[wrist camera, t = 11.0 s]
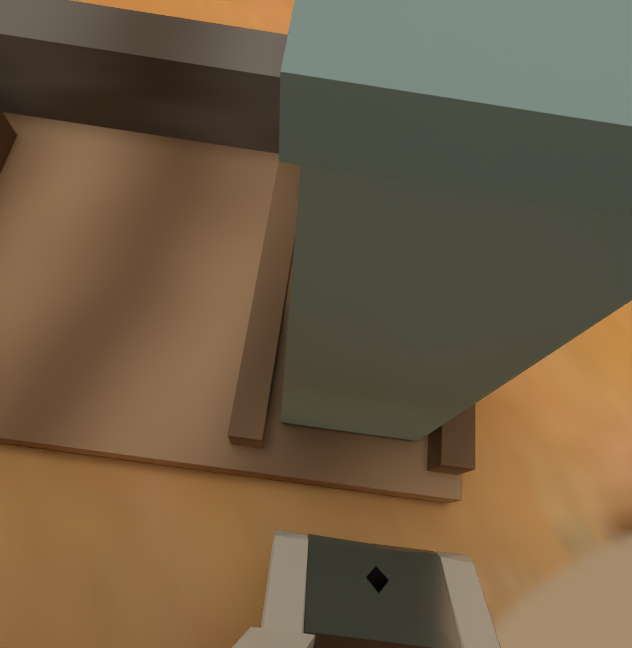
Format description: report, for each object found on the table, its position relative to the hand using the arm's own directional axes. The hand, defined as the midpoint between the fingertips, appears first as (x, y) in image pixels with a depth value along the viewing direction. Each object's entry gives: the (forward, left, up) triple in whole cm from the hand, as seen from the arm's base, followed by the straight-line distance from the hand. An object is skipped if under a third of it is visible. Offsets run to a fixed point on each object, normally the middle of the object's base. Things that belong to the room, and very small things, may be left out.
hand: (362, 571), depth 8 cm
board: (-7, +8, -6) cm, 12 cm away
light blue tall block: (0, +5, -4) cm, 6 cm away
